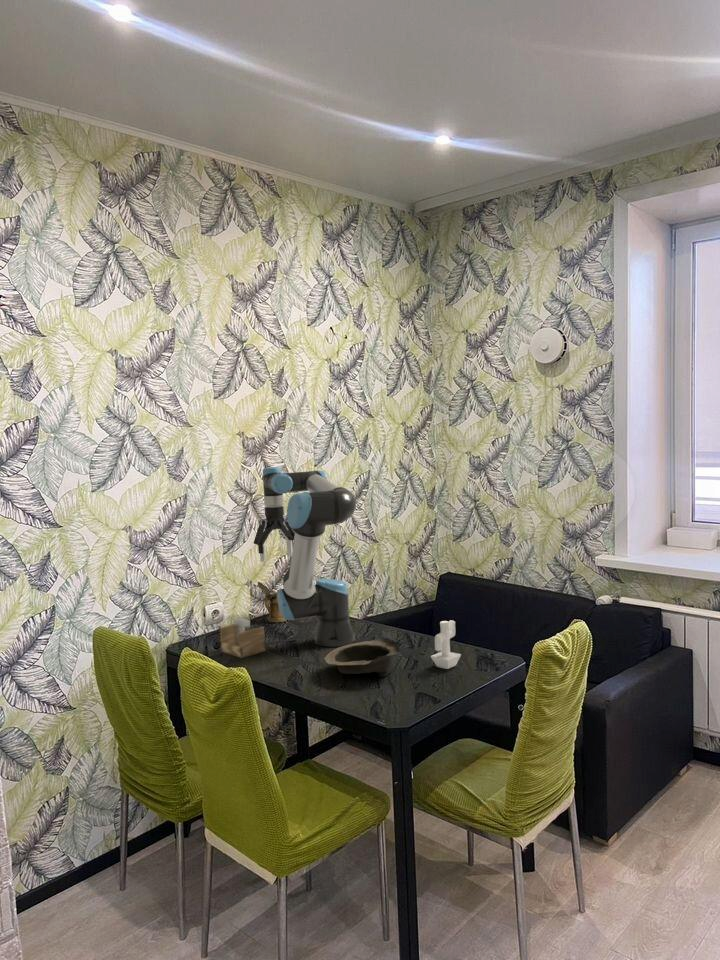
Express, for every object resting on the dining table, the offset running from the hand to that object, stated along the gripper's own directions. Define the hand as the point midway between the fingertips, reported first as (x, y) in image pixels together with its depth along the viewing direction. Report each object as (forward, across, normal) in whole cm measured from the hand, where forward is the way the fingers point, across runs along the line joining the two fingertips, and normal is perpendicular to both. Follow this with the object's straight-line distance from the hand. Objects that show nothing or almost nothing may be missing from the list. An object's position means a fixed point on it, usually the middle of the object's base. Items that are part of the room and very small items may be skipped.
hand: (277, 558), depth 295 cm
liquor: (+29, -20, -14) cm, 38 cm away
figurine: (+29, -5, +81) cm, 86 cm away
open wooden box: (+29, +27, +12) cm, 41 cm away
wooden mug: (+29, -6, -12) cm, 32 cm away
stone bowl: (+29, +16, +63) cm, 71 cm away
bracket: (+28, +27, +12) cm, 41 cm away
